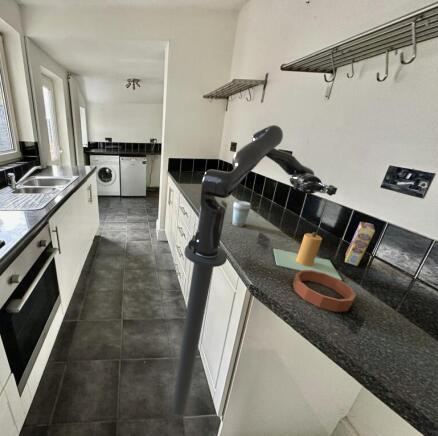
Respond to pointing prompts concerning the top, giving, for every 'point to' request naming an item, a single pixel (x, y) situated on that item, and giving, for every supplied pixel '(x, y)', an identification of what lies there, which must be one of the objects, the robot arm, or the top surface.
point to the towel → (290, 262)
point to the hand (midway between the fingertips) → (318, 191)
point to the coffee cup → (240, 212)
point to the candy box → (359, 243)
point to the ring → (318, 298)
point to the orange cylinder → (309, 249)
